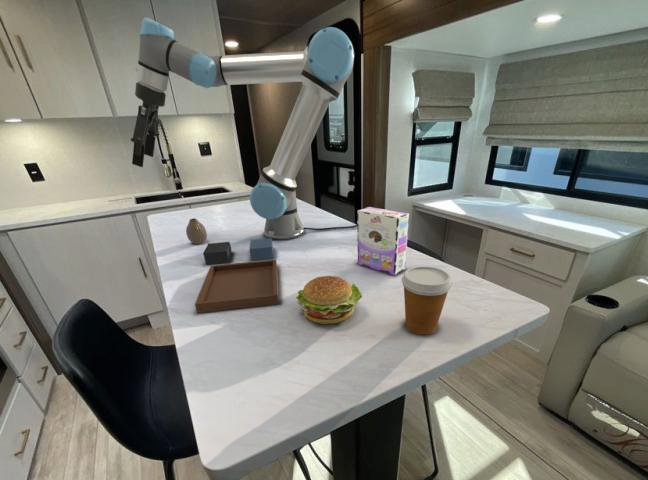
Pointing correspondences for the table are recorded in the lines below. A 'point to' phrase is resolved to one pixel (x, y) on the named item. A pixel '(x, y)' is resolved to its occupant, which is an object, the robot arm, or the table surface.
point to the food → (328, 299)
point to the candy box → (382, 239)
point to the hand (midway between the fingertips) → (143, 160)
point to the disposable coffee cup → (424, 297)
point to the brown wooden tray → (239, 286)
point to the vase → (196, 232)
